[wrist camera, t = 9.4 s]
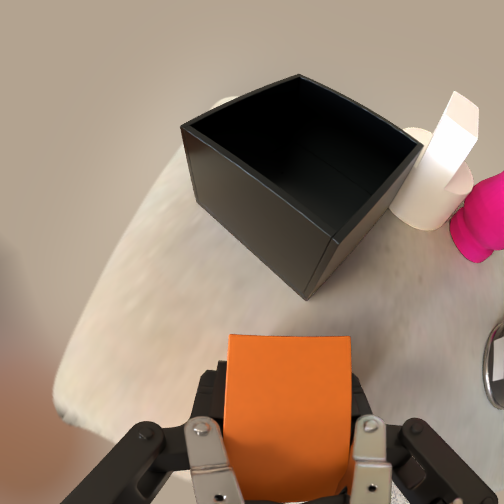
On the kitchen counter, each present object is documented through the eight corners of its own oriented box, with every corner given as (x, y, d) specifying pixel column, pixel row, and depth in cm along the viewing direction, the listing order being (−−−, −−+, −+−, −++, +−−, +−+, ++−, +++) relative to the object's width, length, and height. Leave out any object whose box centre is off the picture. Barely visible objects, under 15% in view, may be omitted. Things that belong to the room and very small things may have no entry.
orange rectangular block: (301, 363, 18) (351, 335, 9) (298, 449, 15) (345, 496, 6) (238, 361, 18) (228, 333, 9) (234, 448, 15) (220, 501, 6)
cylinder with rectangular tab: (393, 155, 29) (428, 74, 18) (451, 198, 26) (501, 126, 16) (364, 194, 26) (410, 93, 15) (435, 247, 23) (506, 165, 12)
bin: (387, 208, 25) (424, 145, 17) (305, 301, 20) (339, 244, 13) (289, 140, 29) (298, 73, 22) (196, 201, 25) (179, 125, 17)
